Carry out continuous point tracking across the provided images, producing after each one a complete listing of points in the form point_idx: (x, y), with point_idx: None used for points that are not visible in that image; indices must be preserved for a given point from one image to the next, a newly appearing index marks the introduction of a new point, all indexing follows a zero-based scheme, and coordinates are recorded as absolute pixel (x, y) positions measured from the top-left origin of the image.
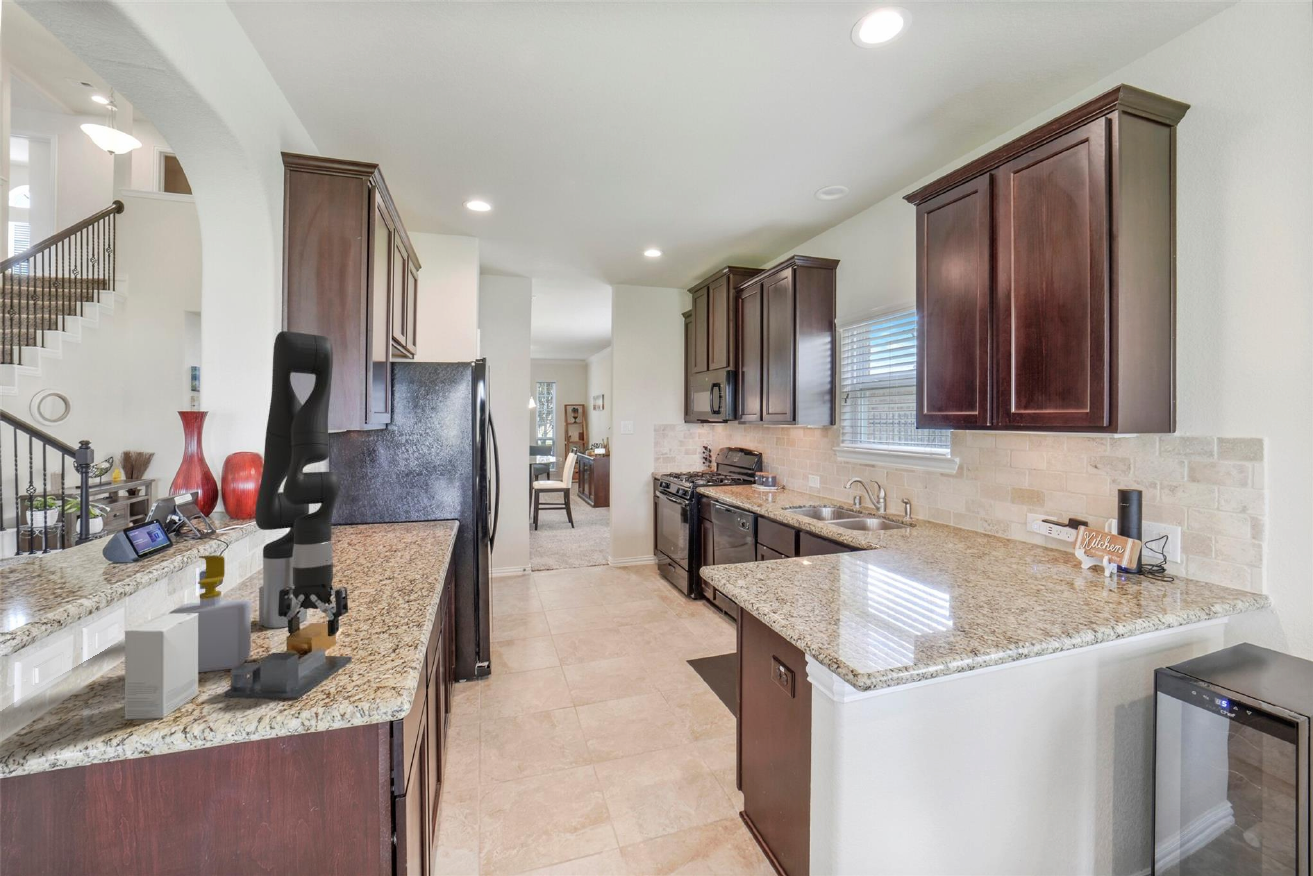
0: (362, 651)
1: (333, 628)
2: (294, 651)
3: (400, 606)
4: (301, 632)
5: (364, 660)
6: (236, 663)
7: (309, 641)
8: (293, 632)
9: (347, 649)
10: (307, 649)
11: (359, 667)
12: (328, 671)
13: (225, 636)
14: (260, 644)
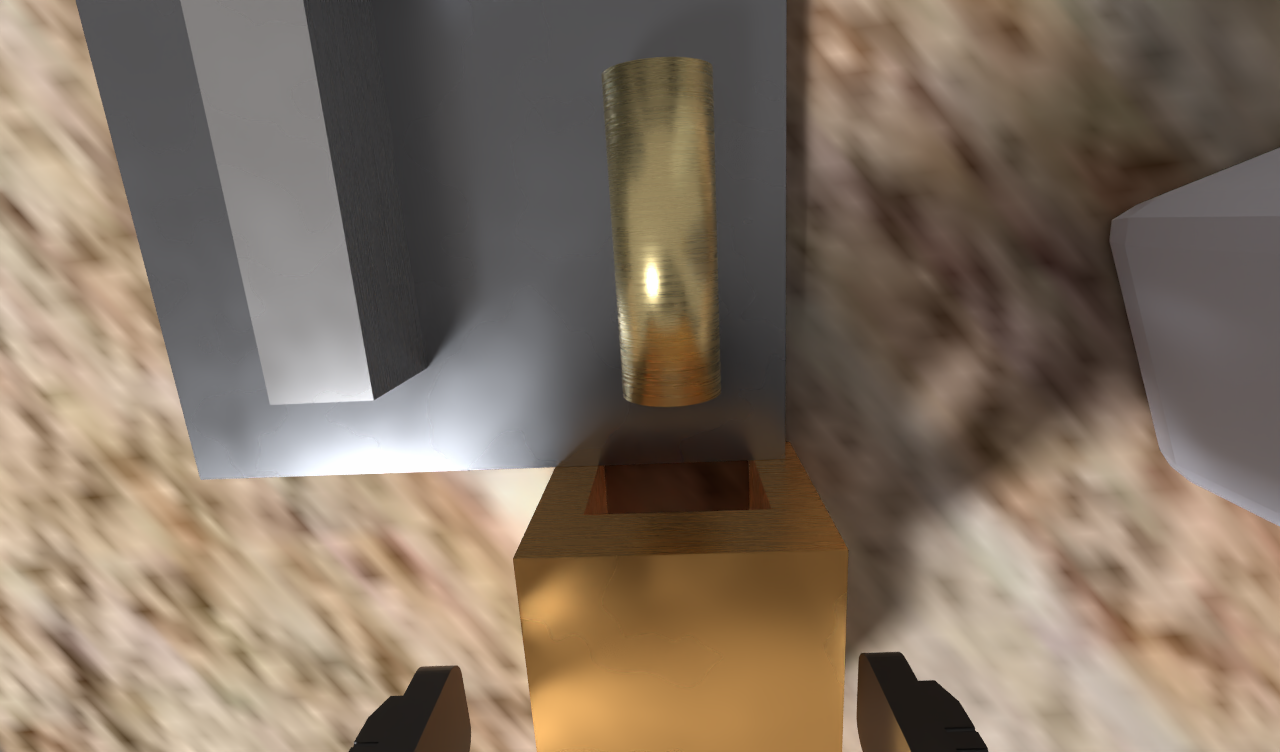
0: (293, 628)
1: (371, 749)
2: (637, 389)
3: None
4: (754, 674)
5: (147, 487)
6: (1149, 208)
7: (553, 531)
8: (875, 686)
9: (435, 650)
10: (588, 487)
11: (79, 369)
12: (133, 173)
13: None
14: (1234, 681)
